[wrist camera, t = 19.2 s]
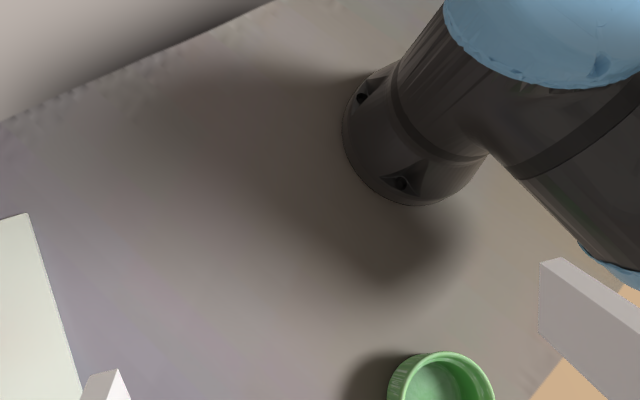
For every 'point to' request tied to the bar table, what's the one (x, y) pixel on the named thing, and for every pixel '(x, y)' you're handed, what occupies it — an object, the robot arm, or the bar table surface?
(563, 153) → the robot arm
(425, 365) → the ramekin
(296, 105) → the bar table surface
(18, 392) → the mat
